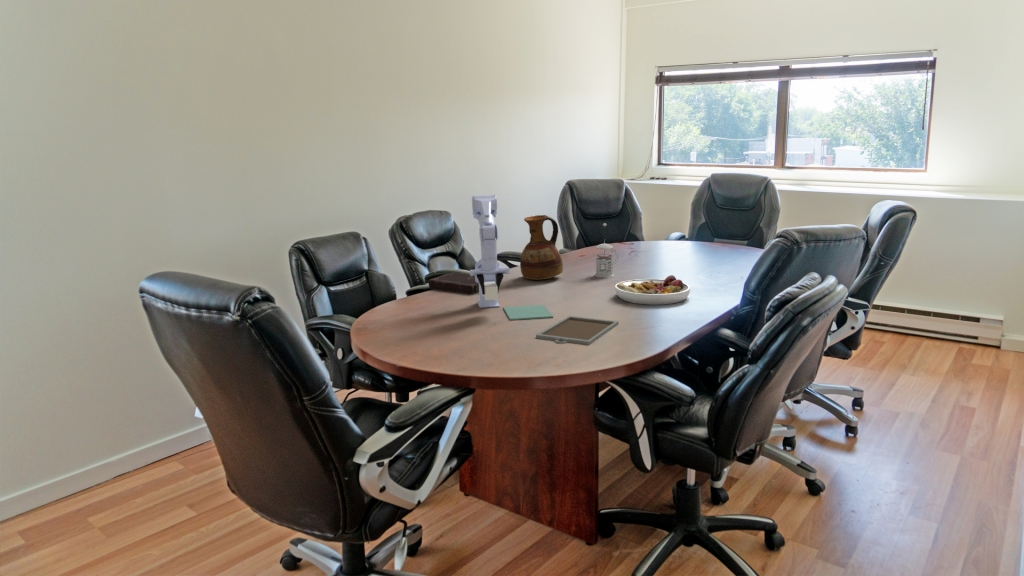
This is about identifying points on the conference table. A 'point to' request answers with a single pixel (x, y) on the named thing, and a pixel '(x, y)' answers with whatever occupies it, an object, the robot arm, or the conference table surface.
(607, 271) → the french press
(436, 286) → the diary
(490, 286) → the card box
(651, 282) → the bowl
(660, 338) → the conference table surface
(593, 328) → the picture frame
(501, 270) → the robot arm
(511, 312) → the mat
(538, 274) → the ceramic pitcher
